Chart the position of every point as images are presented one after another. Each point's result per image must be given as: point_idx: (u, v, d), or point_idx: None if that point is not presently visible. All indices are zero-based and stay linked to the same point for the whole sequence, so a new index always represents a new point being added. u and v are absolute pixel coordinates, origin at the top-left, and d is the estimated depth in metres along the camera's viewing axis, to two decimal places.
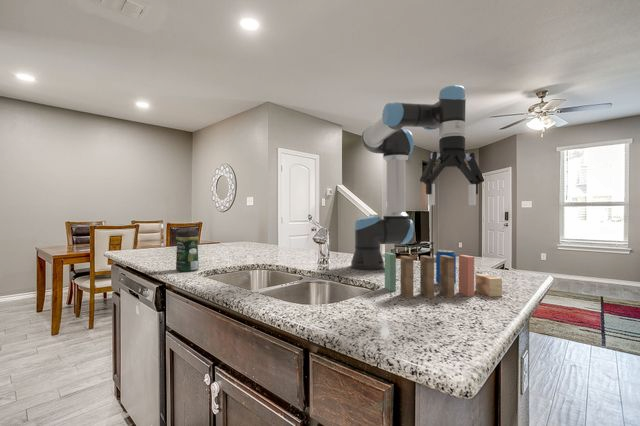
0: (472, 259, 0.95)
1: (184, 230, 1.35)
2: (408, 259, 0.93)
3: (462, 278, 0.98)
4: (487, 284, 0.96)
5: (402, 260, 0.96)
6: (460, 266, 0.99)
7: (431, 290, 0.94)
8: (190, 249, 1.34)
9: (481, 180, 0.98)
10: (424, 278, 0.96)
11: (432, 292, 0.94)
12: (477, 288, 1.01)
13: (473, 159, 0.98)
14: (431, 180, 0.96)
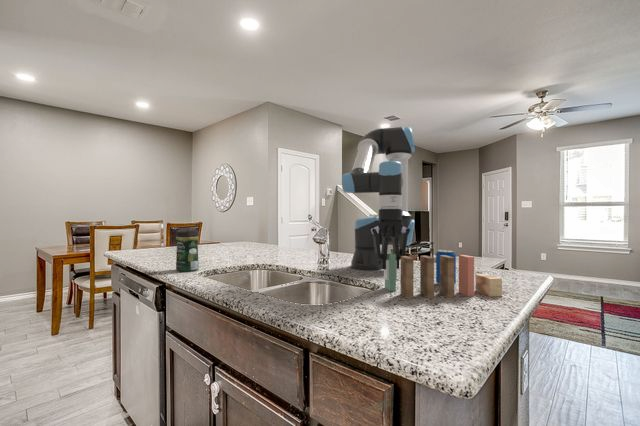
0: (472, 259, 0.95)
1: (184, 230, 1.35)
2: (408, 259, 0.93)
3: (462, 278, 0.98)
4: (487, 284, 0.96)
5: (402, 260, 0.96)
6: (460, 266, 0.99)
7: (431, 290, 0.94)
8: (190, 249, 1.34)
9: (402, 255, 1.03)
10: (424, 278, 0.96)
11: (432, 292, 0.94)
12: (477, 288, 1.01)
13: (406, 234, 1.03)
14: (384, 256, 1.02)
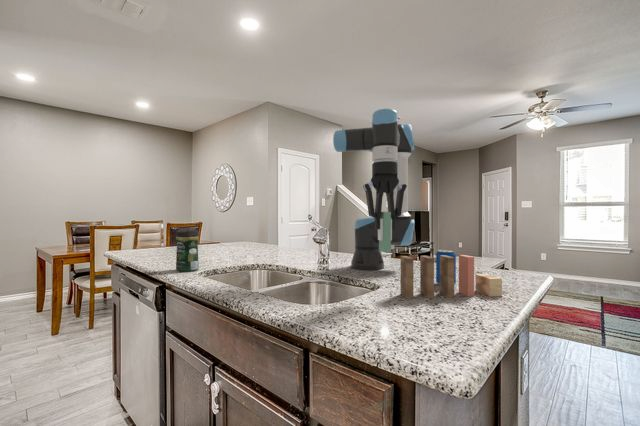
0: (472, 259, 0.95)
1: (184, 230, 1.35)
2: (408, 259, 0.93)
3: (462, 278, 0.98)
4: (487, 284, 0.96)
5: (402, 260, 0.96)
6: (460, 266, 0.99)
7: (431, 290, 0.94)
8: (190, 249, 1.34)
9: (398, 213, 0.94)
10: (424, 278, 0.96)
11: (432, 292, 0.94)
12: (477, 288, 1.01)
13: (402, 190, 0.94)
14: (378, 214, 0.93)
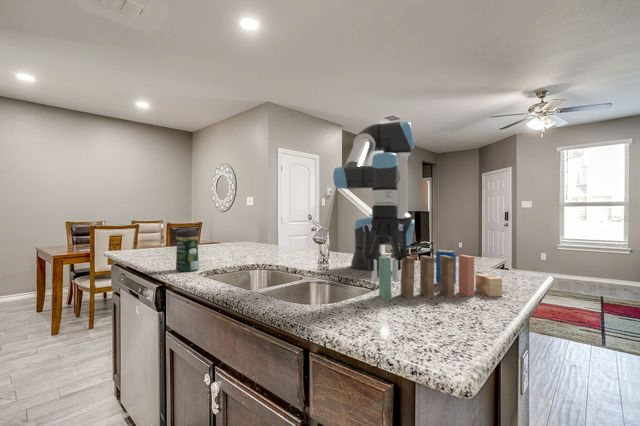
0: (472, 259, 0.95)
1: (184, 230, 1.35)
2: (409, 259, 0.93)
3: (462, 278, 0.98)
4: (487, 284, 0.96)
5: (403, 260, 0.96)
6: (460, 266, 0.99)
7: (431, 290, 0.94)
8: (190, 249, 1.34)
9: (404, 255, 0.94)
10: (424, 278, 0.96)
11: (432, 292, 0.94)
12: (477, 288, 1.01)
13: (404, 232, 0.94)
14: (372, 257, 0.93)
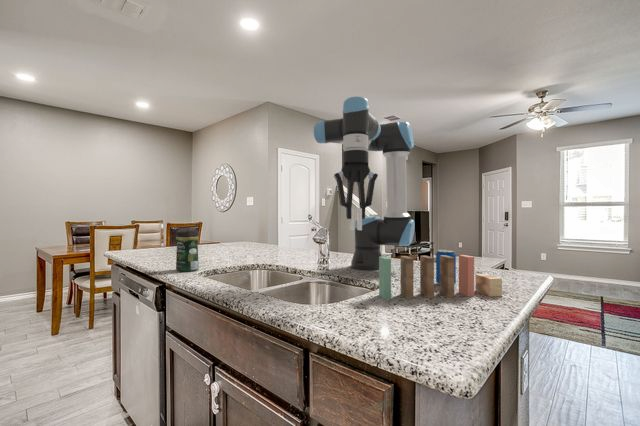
0: (472, 259, 0.95)
1: (184, 230, 1.35)
2: (408, 259, 0.93)
3: (462, 278, 0.98)
4: (487, 284, 0.96)
5: (402, 260, 0.96)
6: (460, 266, 0.99)
7: (431, 290, 0.94)
8: (190, 249, 1.34)
9: (368, 203, 0.92)
10: (424, 278, 0.96)
11: (432, 292, 0.94)
12: (477, 288, 1.01)
13: (373, 180, 0.93)
14: (349, 204, 0.92)
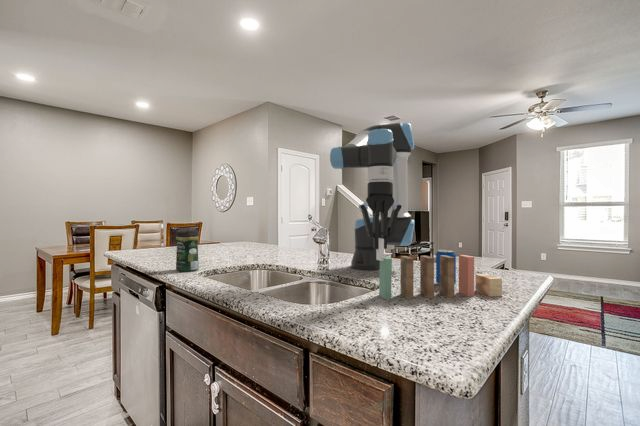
0: (472, 259, 0.95)
1: (184, 230, 1.35)
2: (408, 259, 0.93)
3: (462, 278, 0.98)
4: (487, 284, 0.96)
5: (402, 260, 0.96)
6: (460, 266, 0.99)
7: (431, 290, 0.94)
8: (190, 249, 1.34)
9: (390, 233, 0.93)
10: (424, 278, 0.96)
11: (432, 292, 0.94)
12: (477, 288, 1.01)
13: (397, 211, 0.94)
14: (377, 235, 0.93)
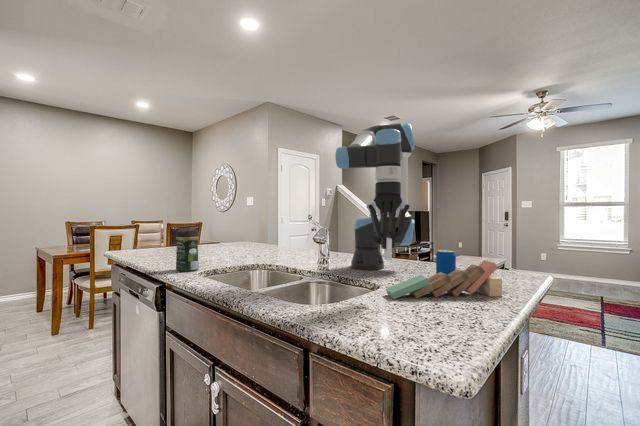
0: (495, 267, 0.96)
1: (184, 230, 1.35)
2: (448, 276, 0.94)
3: None
4: (487, 284, 0.96)
5: (439, 274, 0.98)
6: None
7: (440, 291, 0.94)
8: (190, 249, 1.34)
9: (398, 233, 0.94)
10: None
11: (440, 293, 0.94)
12: (477, 288, 1.01)
13: (404, 211, 0.94)
14: (385, 234, 0.93)
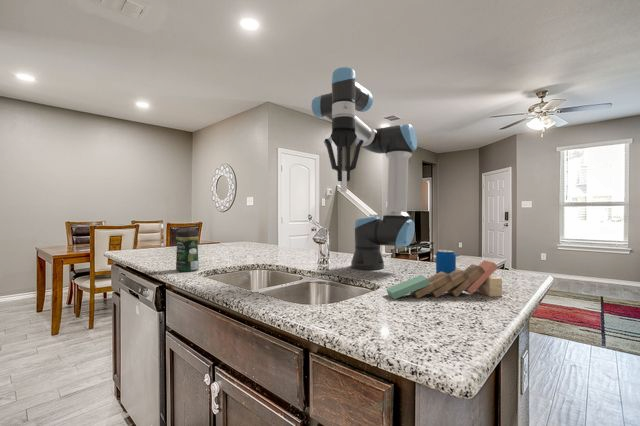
0: (495, 267, 0.96)
1: (184, 230, 1.35)
2: (449, 276, 0.95)
3: None
4: (487, 284, 0.96)
5: (440, 273, 0.98)
6: None
7: (440, 291, 0.94)
8: (190, 249, 1.34)
9: (352, 166, 1.00)
10: None
11: (440, 293, 0.94)
12: (477, 288, 1.01)
13: (359, 145, 1.00)
14: (340, 167, 0.99)
